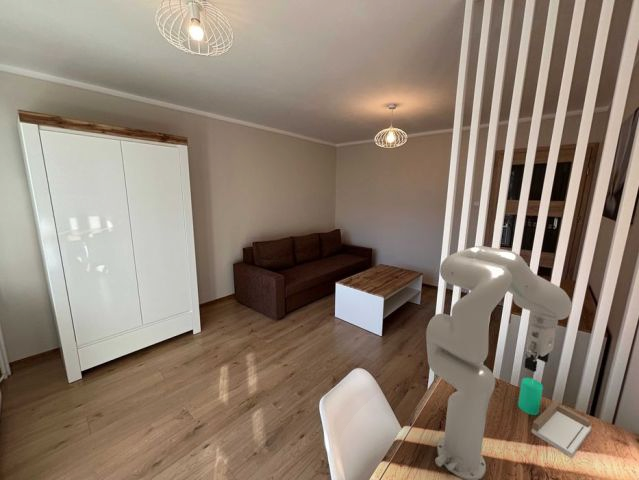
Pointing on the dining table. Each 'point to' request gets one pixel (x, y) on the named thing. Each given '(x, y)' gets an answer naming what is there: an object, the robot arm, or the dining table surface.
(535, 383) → the candle
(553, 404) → the jig board
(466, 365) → the robot arm
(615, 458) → the dining table surface
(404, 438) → the dining table surface
